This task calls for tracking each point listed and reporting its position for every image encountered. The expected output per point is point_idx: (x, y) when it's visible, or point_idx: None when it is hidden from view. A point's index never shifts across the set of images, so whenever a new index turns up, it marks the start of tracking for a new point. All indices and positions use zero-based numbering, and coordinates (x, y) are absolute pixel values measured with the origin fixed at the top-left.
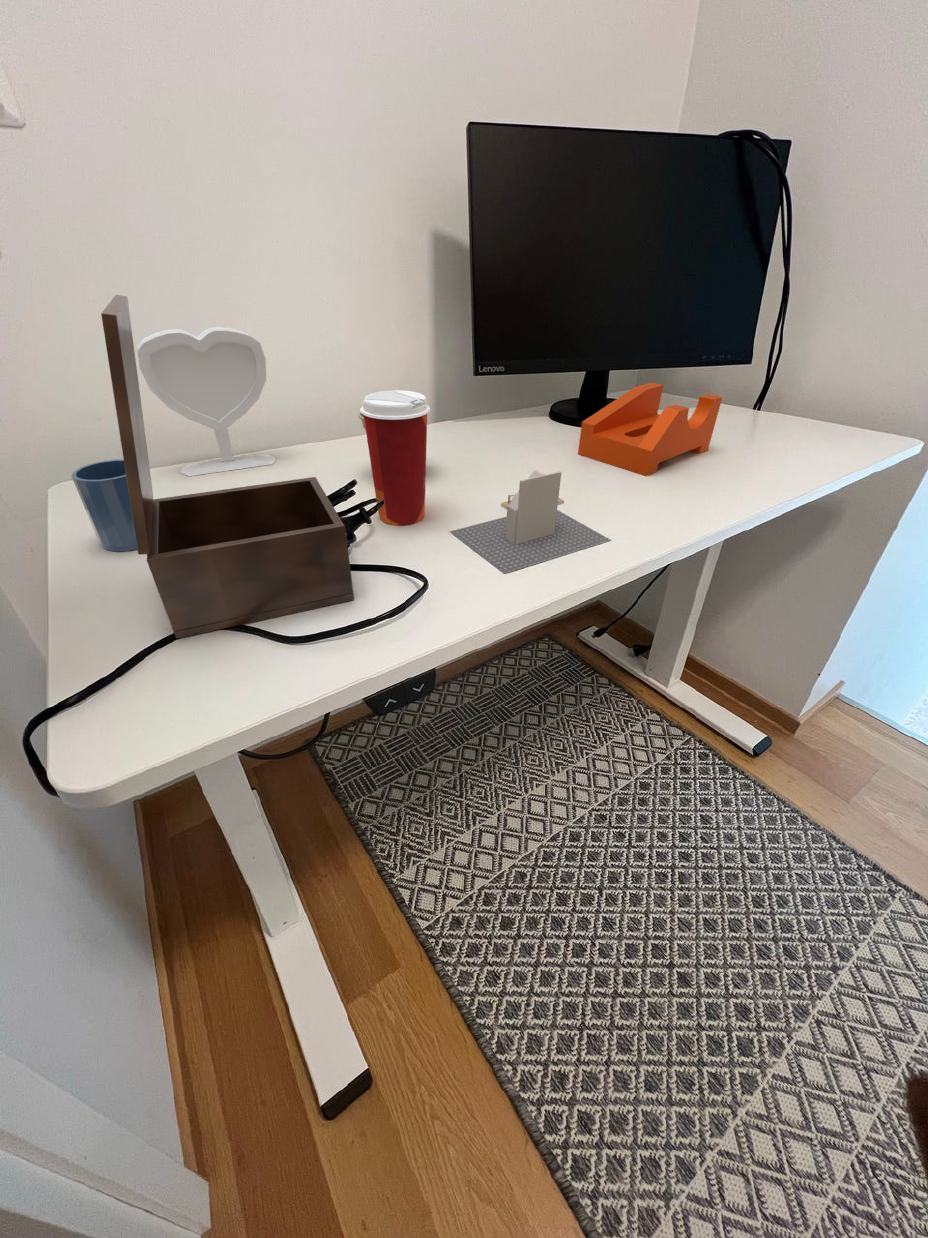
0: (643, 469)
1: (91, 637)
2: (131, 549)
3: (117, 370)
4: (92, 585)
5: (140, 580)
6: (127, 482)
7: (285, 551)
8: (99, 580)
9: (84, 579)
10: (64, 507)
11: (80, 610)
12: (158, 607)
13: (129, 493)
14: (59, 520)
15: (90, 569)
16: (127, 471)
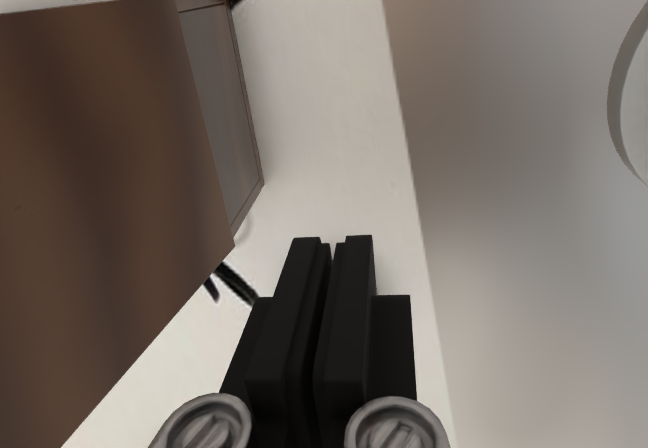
0: None
1: (345, 33)
2: (332, 260)
3: None
4: (369, 180)
5: (307, 173)
6: (73, 7)
7: None
8: (362, 191)
9: (383, 200)
10: (442, 404)
11: (373, 115)
12: (268, 88)
13: (90, 3)
14: (443, 372)
15: (379, 225)
16: (50, 8)
